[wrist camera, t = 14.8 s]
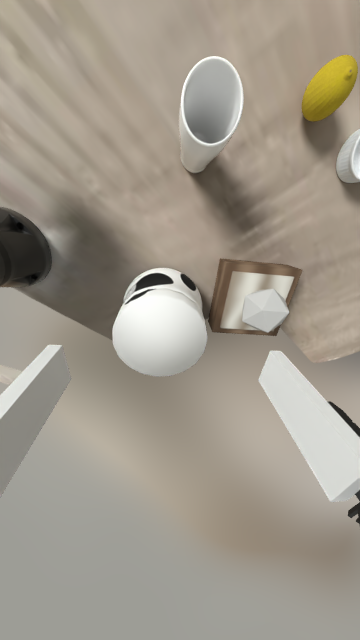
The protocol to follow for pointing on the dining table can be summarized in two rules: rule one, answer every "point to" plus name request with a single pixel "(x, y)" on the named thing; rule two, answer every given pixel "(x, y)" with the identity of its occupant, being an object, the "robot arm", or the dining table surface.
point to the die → (264, 310)
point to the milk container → (160, 324)
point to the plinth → (247, 292)
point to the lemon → (329, 88)
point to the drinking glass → (208, 111)
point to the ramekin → (349, 159)
